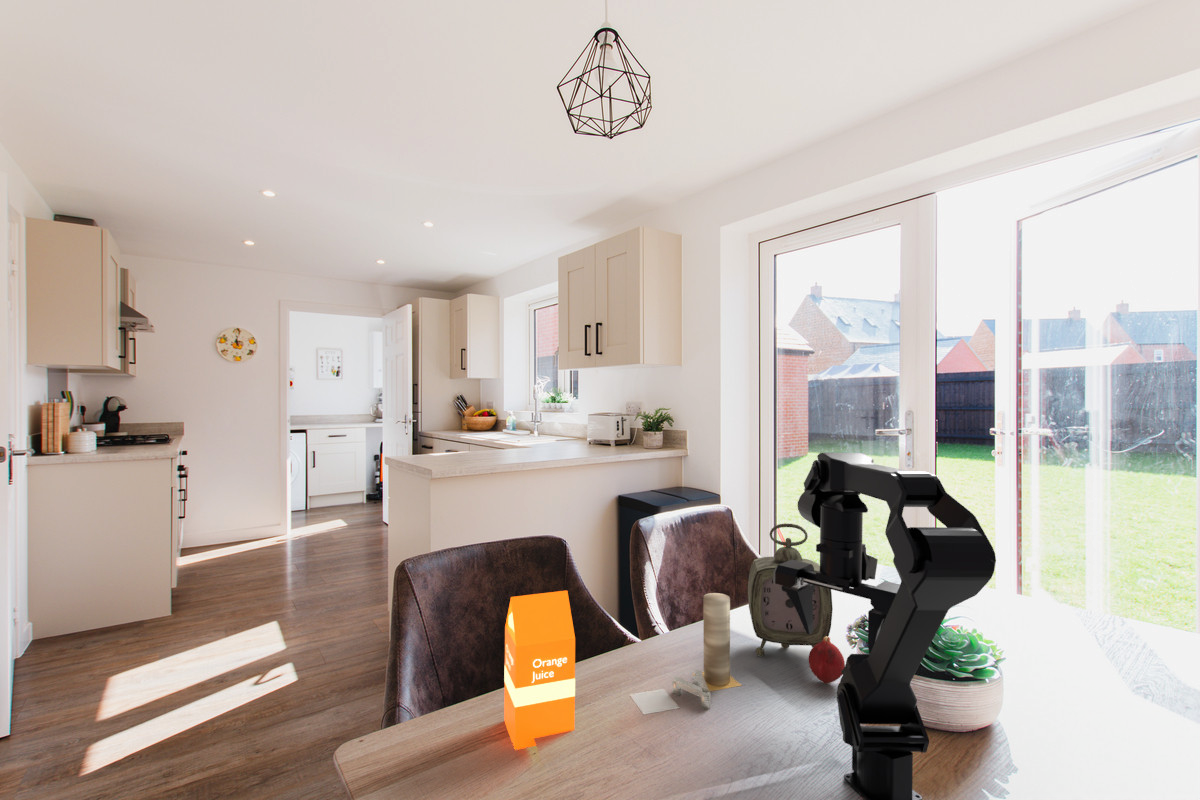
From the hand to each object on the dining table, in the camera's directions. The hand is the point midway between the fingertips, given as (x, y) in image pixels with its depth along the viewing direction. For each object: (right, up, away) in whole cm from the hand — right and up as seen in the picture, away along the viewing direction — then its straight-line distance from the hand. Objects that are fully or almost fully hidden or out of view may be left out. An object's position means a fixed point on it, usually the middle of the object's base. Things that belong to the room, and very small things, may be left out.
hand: (839, 643), depth 83 cm
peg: (-15, -12, +13) cm, 23 cm away
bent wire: (-20, -12, +7) cm, 24 cm away
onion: (+4, -13, +14) cm, 20 cm away
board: (-20, -13, +7) cm, 25 cm away
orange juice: (-44, -13, 0) cm, 46 cm away
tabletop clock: (+1, -13, +26) cm, 29 cm away
